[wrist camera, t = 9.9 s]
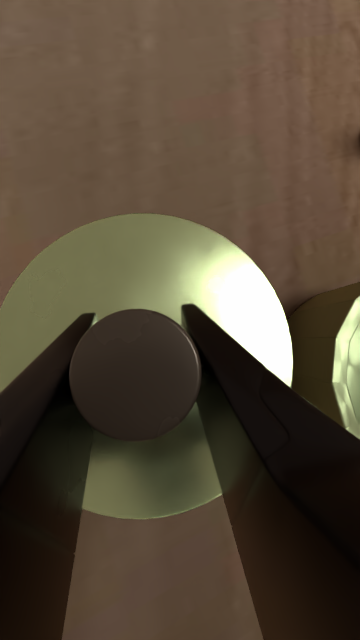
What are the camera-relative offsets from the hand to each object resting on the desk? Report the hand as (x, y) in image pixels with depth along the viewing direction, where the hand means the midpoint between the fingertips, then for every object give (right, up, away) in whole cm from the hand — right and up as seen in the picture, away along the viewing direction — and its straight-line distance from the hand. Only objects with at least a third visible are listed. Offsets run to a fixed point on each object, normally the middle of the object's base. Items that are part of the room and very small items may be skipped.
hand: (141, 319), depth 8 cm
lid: (0, -2, +3) cm, 3 cm away
